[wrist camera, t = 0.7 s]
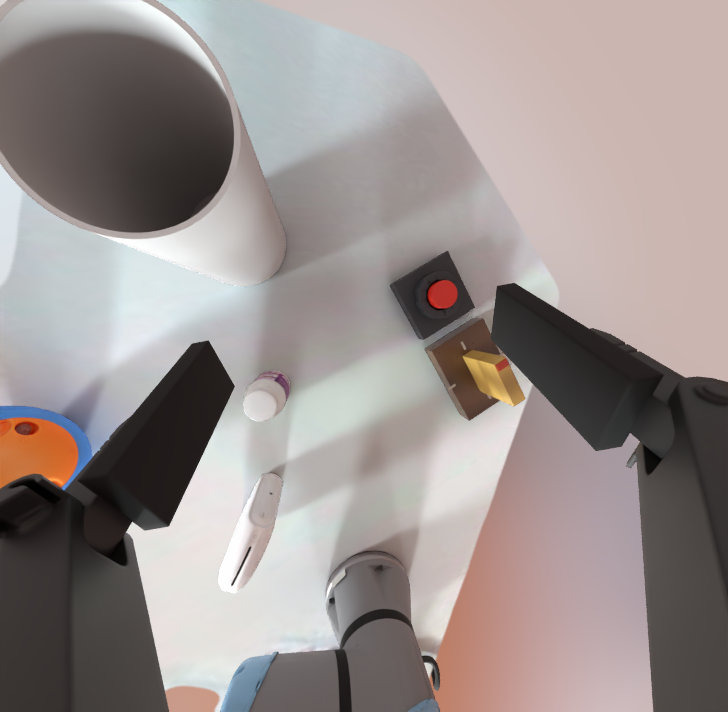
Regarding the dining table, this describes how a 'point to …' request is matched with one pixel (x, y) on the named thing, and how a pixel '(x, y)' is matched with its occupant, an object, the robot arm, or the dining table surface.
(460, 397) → the panel
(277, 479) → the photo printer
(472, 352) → the lock handle
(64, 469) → the treat dispenser ball
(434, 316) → the button box
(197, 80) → the cylinder vase
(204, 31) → the dining table surface
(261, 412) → the pill bottle
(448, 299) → the button
